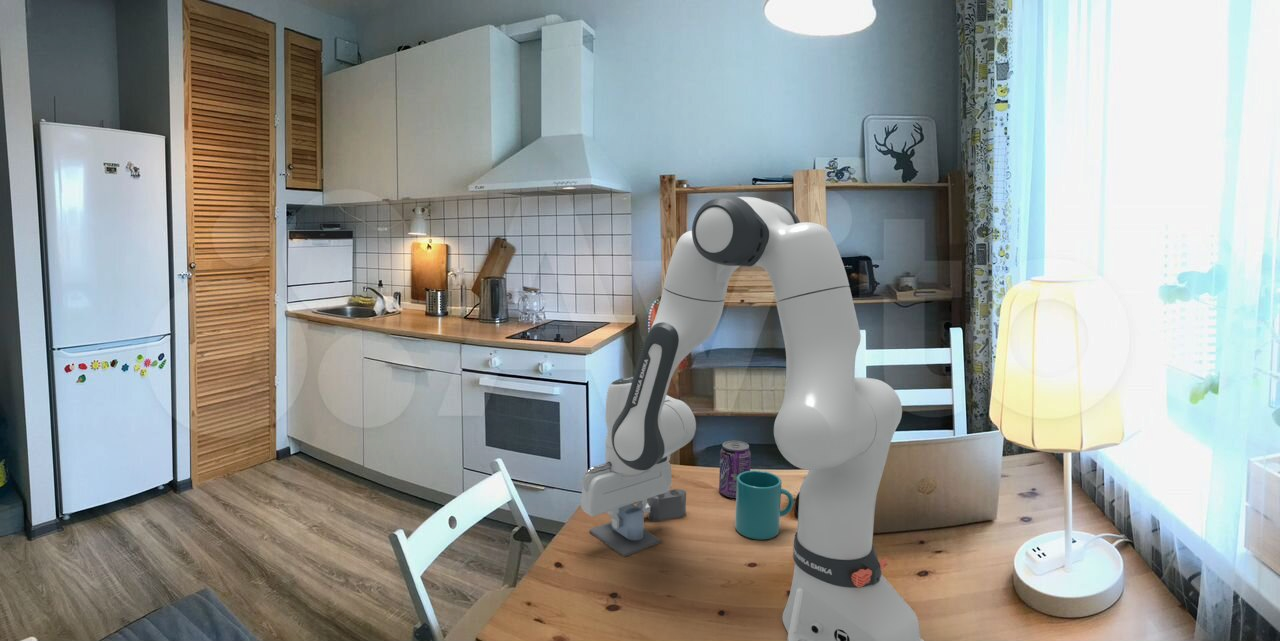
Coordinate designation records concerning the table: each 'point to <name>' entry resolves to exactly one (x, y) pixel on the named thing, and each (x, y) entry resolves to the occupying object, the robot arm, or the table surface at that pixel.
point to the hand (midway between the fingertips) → (627, 523)
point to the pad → (623, 540)
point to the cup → (759, 504)
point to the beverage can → (733, 465)
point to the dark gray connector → (667, 506)
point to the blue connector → (631, 522)
